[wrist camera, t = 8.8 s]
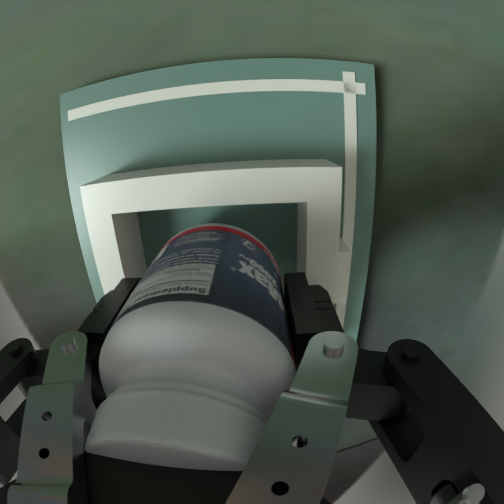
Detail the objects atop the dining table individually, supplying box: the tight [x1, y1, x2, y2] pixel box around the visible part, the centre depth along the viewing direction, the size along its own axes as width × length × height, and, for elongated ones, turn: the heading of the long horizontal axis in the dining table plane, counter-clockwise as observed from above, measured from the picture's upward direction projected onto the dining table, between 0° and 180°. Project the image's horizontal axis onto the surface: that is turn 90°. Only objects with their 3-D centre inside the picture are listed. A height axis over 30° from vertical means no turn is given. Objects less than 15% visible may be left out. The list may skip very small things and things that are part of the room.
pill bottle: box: [85, 223, 297, 471], centre depth 9 cm, size 5×5×9 cm
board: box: [60, 58, 377, 341], centre depth 13 cm, size 18×14×4 cm
